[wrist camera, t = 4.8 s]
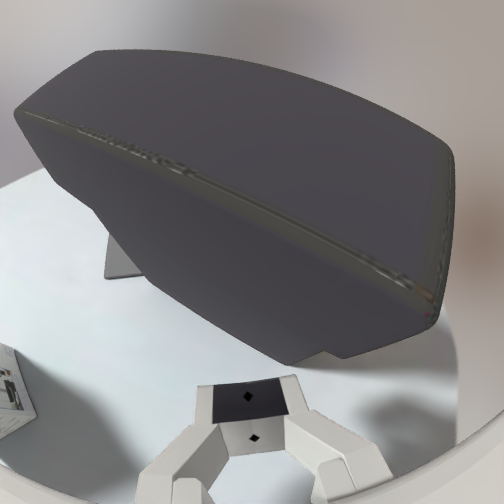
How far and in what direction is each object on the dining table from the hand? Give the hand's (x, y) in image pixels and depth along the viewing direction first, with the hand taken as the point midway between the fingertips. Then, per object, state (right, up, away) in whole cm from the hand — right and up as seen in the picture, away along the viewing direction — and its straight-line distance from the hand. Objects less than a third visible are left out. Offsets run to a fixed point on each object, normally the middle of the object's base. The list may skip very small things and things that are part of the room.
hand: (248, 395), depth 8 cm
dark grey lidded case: (-2, +1, +10) cm, 10 cm away
